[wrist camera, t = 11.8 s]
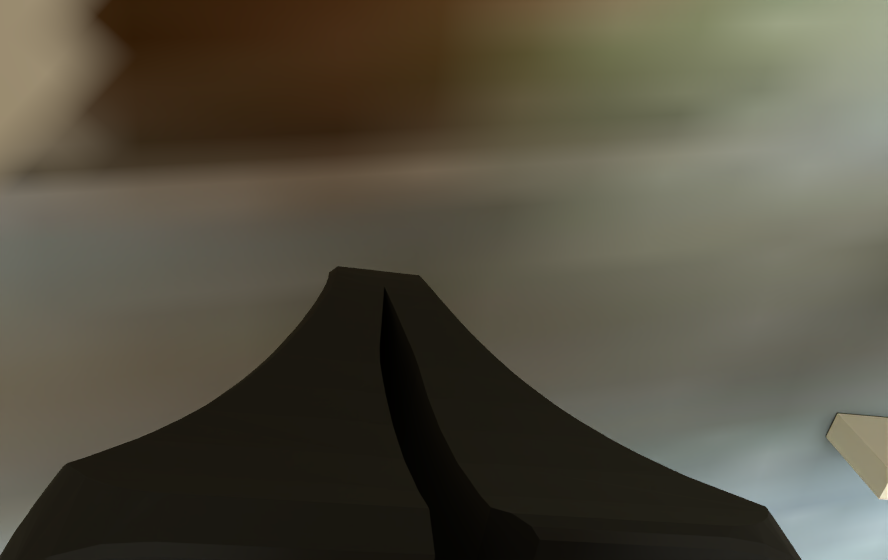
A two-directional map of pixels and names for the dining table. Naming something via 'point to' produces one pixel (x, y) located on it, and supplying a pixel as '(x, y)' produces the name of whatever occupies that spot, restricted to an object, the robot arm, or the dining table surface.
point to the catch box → (864, 448)
